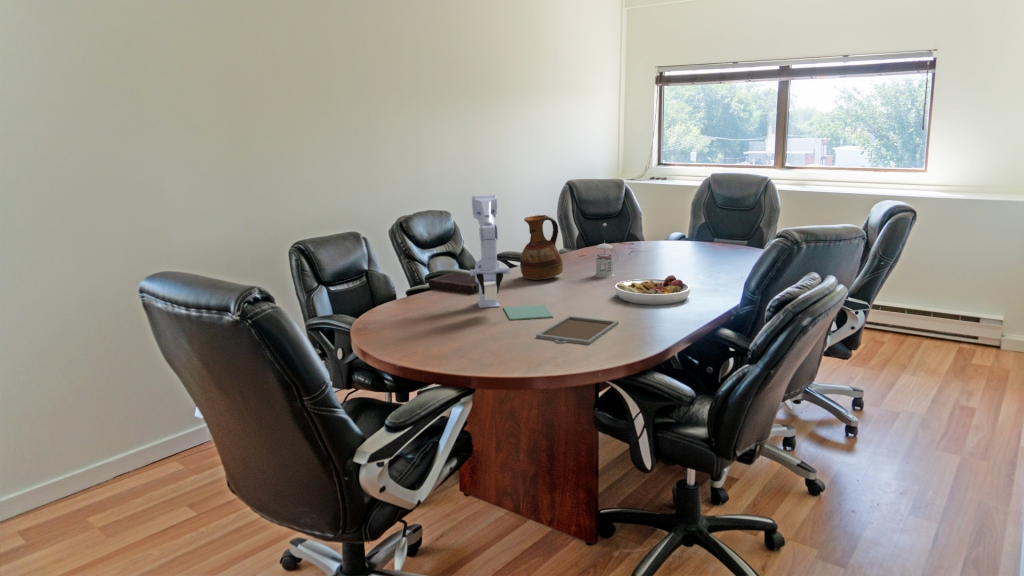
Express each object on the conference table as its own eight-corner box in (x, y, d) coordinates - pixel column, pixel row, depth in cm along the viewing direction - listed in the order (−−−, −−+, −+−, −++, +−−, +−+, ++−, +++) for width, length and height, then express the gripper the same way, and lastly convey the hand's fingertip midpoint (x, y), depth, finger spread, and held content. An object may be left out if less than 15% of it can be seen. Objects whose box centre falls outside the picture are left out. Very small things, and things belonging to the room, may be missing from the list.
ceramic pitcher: (513, 277, 328) (512, 214, 322) (550, 272, 337) (550, 211, 330) (532, 284, 311) (531, 218, 305) (570, 279, 319) (570, 215, 313)
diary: (472, 296, 293) (472, 285, 292) (428, 290, 307) (428, 279, 306) (498, 287, 308) (497, 276, 307) (455, 282, 322) (454, 271, 321)
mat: (503, 308, 268) (503, 307, 268) (543, 306, 270) (543, 304, 270) (510, 320, 251) (510, 318, 250) (553, 317, 253) (553, 316, 253)
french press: (590, 274, 330) (590, 222, 325) (612, 272, 334) (613, 221, 328) (599, 278, 321) (599, 224, 316) (621, 276, 324) (622, 223, 319)
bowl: (658, 311, 260) (658, 290, 259) (599, 298, 283) (599, 279, 281) (704, 298, 279) (705, 279, 277) (646, 286, 302) (646, 269, 300)
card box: (483, 294, 261) (483, 282, 260) (495, 294, 262) (495, 281, 260) (485, 300, 252) (484, 287, 251) (497, 299, 253) (497, 286, 252)
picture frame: (618, 321, 242) (586, 343, 217) (618, 325, 243) (586, 348, 217) (569, 315, 251) (532, 336, 226) (569, 319, 252) (532, 341, 226)
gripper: (470, 260, 249) (471, 296, 252) (509, 258, 250) (510, 295, 253) (469, 257, 256) (470, 292, 259) (507, 255, 257) (508, 290, 260)
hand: (490, 293), depth 257 cm, fingers closed on card box, 4 cm apart
